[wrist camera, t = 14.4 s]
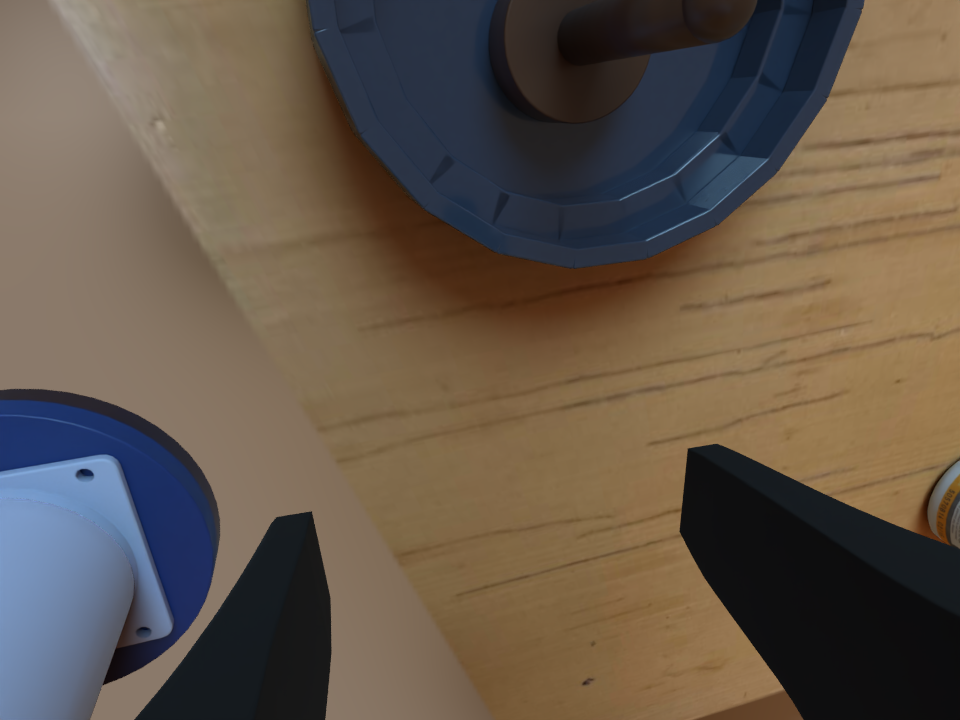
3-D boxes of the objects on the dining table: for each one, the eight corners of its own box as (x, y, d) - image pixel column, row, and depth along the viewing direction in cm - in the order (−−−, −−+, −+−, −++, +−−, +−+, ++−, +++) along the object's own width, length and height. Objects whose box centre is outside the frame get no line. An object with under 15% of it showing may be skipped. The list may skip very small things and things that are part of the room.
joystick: (503, 137, 19) (637, 155, 11) (473, -29, 17) (609, -144, 9) (634, 105, 19) (844, 101, 12) (619, -58, 17) (856, -188, 10)
